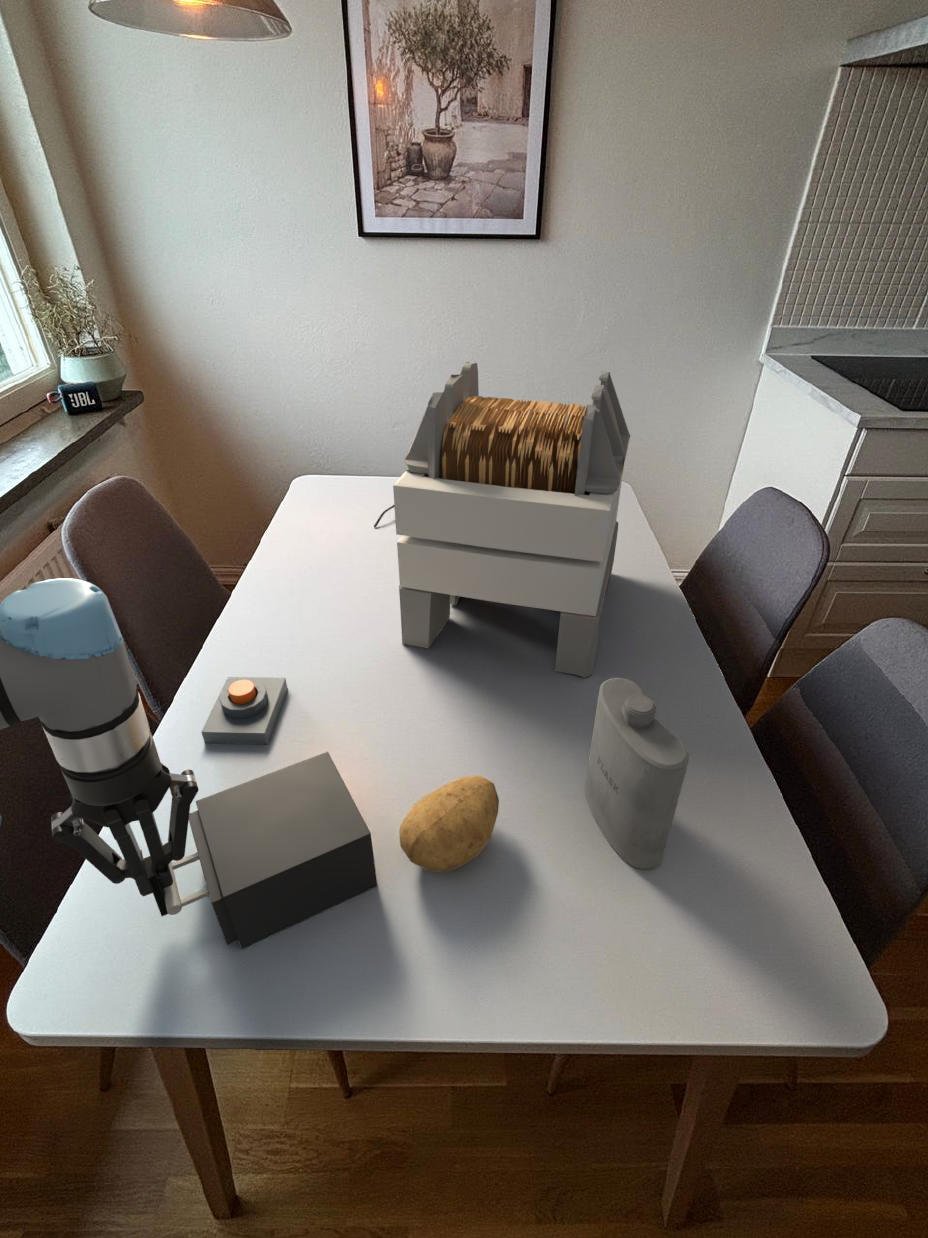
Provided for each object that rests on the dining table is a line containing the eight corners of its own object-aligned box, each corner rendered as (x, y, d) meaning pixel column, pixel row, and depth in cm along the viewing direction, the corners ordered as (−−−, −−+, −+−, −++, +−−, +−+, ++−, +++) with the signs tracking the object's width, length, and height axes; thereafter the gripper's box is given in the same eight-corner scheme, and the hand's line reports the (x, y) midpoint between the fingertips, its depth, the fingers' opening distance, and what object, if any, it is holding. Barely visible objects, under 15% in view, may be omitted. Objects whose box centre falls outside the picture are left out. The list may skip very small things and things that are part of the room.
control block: (267, 744, 97) (262, 724, 94) (204, 743, 97) (198, 722, 95) (287, 688, 107) (283, 668, 104) (230, 687, 107) (225, 667, 104)
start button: (252, 705, 98) (249, 696, 97) (227, 704, 98) (225, 695, 97) (259, 688, 101) (257, 679, 100) (235, 688, 101) (232, 679, 100)
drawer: (185, 965, 70) (165, 923, 66) (164, 872, 79) (146, 829, 74) (356, 886, 77) (349, 843, 73) (320, 809, 86) (312, 766, 82)
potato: (520, 832, 84) (523, 788, 80) (440, 909, 76) (439, 865, 71) (462, 790, 90) (462, 747, 85) (382, 857, 82) (377, 814, 77)
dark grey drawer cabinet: (241, 950, 72) (223, 897, 67) (213, 853, 82) (195, 801, 76) (377, 886, 78) (370, 833, 73) (336, 803, 88) (327, 751, 83)
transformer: (454, 550, 142) (451, 346, 118) (612, 572, 135) (643, 359, 111) (397, 646, 115) (380, 407, 92) (591, 680, 108) (626, 429, 84)
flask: (573, 782, 91) (588, 665, 79) (612, 772, 92) (633, 656, 81) (625, 877, 79) (652, 757, 68) (670, 864, 81) (703, 745, 69)
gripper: (173, 698, 65) (216, 855, 78) (22, 741, 60) (96, 901, 73) (188, 748, 60) (232, 908, 73) (24, 800, 54) (103, 961, 68)
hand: (164, 904), depth 73 cm, fingers closed
